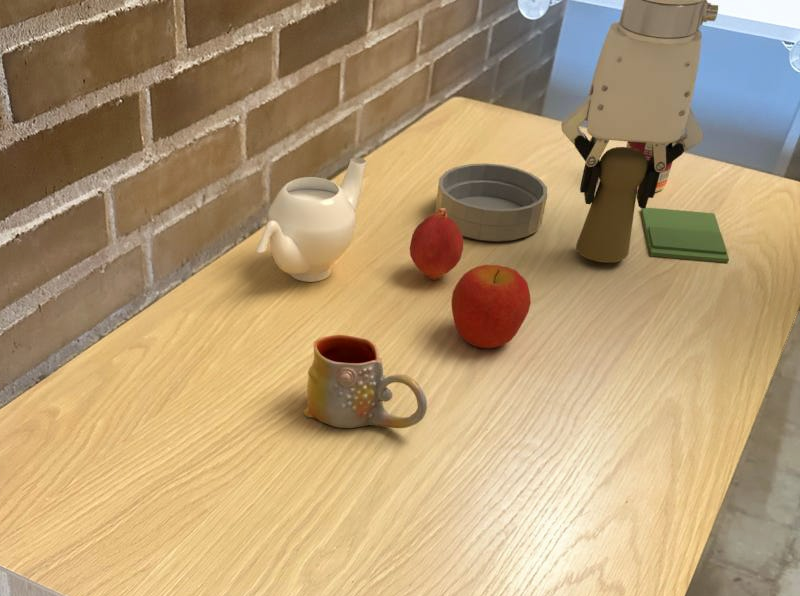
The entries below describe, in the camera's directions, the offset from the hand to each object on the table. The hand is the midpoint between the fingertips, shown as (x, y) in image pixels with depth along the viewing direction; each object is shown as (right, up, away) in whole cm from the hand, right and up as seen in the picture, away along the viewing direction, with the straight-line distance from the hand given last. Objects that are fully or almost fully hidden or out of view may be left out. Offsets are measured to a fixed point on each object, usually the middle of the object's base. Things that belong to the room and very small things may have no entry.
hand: (614, 199), depth 108 cm
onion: (-20, -9, +1) cm, 22 cm away
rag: (+11, 0, +9) cm, 15 cm away
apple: (-16, -18, -7) cm, 25 cm away
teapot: (-34, -8, +1) cm, 35 cm away
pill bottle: (+9, +10, +19) cm, 24 cm away
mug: (-29, -29, -17) cm, 44 cm away
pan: (-12, +3, +11) cm, 17 cm away
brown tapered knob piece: (0, -4, +4) cm, 6 cm away
